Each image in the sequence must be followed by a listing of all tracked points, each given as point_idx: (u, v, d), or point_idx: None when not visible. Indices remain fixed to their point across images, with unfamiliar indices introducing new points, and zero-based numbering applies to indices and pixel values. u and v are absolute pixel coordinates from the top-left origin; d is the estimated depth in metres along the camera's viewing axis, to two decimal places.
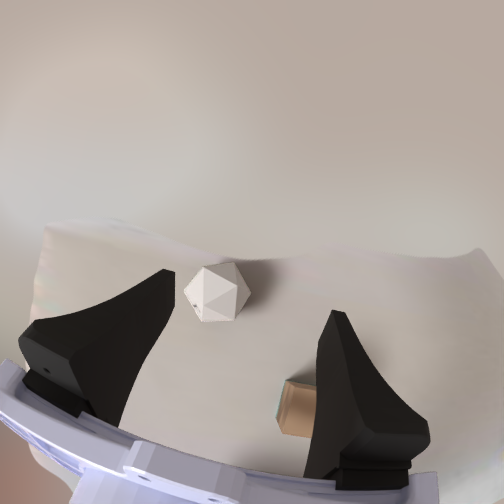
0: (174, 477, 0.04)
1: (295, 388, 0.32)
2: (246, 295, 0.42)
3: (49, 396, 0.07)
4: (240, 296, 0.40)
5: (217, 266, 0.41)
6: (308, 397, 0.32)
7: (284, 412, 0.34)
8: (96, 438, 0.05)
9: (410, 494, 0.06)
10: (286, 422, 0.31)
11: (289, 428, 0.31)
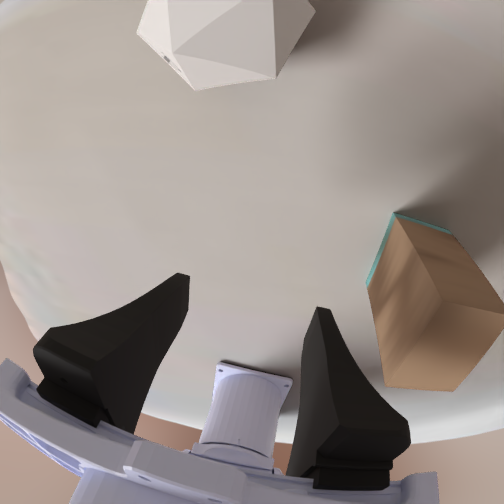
0: (174, 477, 0.04)
1: (442, 303, 0.11)
2: (305, 15, 0.11)
3: (66, 406, 0.07)
4: (285, 14, 0.10)
5: None
6: (462, 324, 0.11)
7: (395, 323, 0.15)
8: (96, 438, 0.05)
9: (410, 494, 0.06)
10: (399, 369, 0.13)
11: (402, 378, 0.13)
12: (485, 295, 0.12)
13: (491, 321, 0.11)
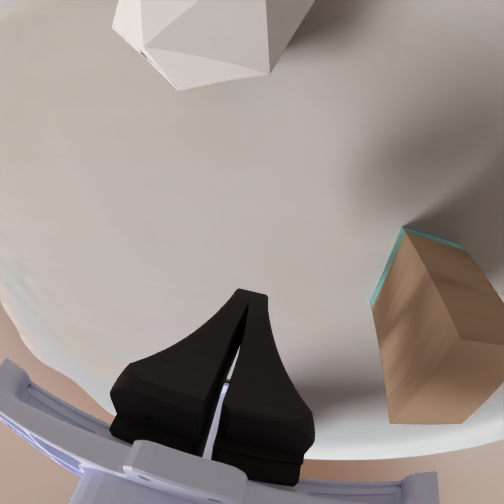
0: (174, 477, 0.04)
1: (460, 342, 0.09)
2: (304, 1, 0.09)
3: None
4: None
5: None
6: (479, 361, 0.09)
7: (403, 355, 0.13)
8: (96, 438, 0.05)
9: (410, 494, 0.06)
10: (407, 407, 0.11)
11: (408, 415, 0.11)
12: (503, 325, 0.10)
13: None
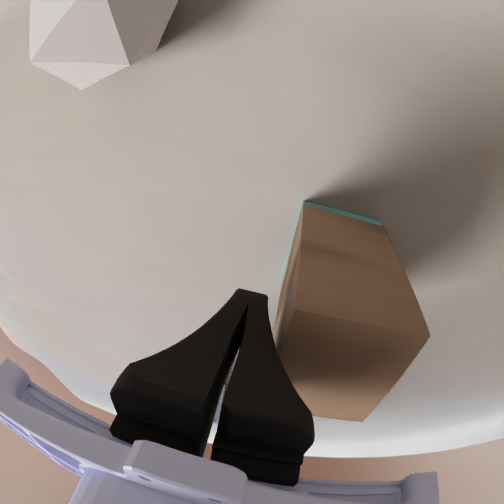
0: (174, 477, 0.04)
1: (297, 313, 0.09)
2: None
3: None
4: (129, 0, 0.08)
5: None
6: (342, 342, 0.10)
7: (277, 332, 0.13)
8: (96, 438, 0.05)
9: (410, 494, 0.06)
10: None
11: None
12: (391, 304, 0.10)
13: (393, 341, 0.09)
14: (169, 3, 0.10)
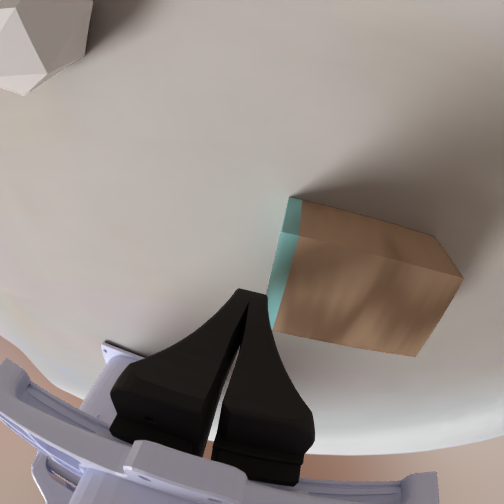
0: (174, 477, 0.04)
1: (461, 279, 0.13)
2: (74, 10, 0.10)
3: None
4: (42, 21, 0.09)
5: None
6: None
7: (394, 324, 0.15)
8: (96, 438, 0.05)
9: (410, 494, 0.06)
10: (426, 338, 0.15)
11: None
12: (424, 240, 0.16)
13: None
14: (79, 17, 0.11)
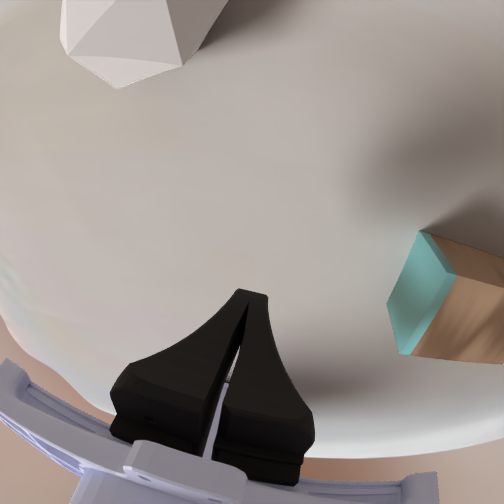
0: (174, 477, 0.04)
1: None
2: None
3: None
4: None
5: None
6: None
7: (497, 340, 0.14)
8: (96, 438, 0.05)
9: (410, 494, 0.06)
10: None
11: None
12: None
13: None
14: (222, 2, 0.10)
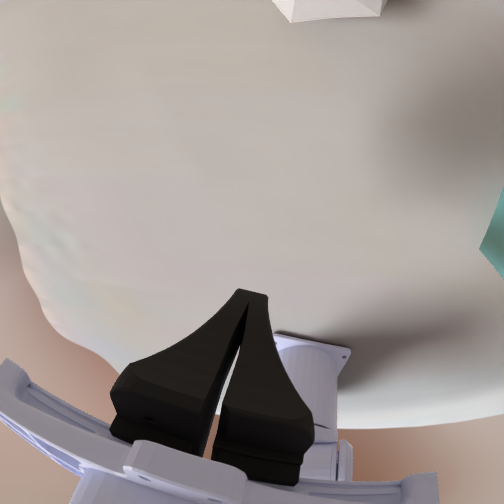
0: (174, 477, 0.04)
1: None
2: None
3: None
4: None
5: None
6: None
7: None
8: (96, 438, 0.05)
9: (410, 494, 0.06)
10: None
11: None
12: None
13: None
14: None
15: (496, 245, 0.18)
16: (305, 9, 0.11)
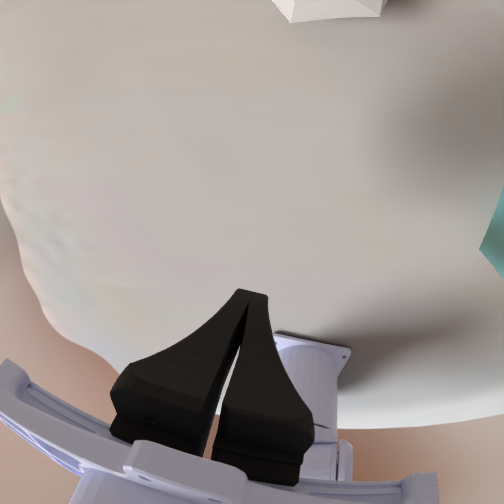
0: (174, 477, 0.04)
1: None
2: None
3: None
4: None
5: None
6: None
7: None
8: (96, 438, 0.05)
9: (410, 494, 0.06)
10: None
11: None
12: None
13: None
14: None
15: (496, 245, 0.18)
16: (305, 9, 0.11)
